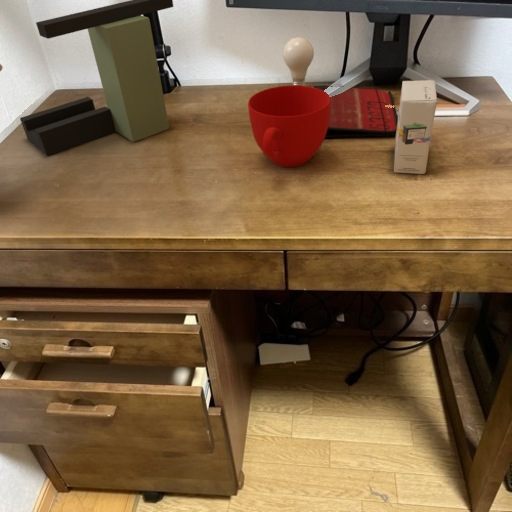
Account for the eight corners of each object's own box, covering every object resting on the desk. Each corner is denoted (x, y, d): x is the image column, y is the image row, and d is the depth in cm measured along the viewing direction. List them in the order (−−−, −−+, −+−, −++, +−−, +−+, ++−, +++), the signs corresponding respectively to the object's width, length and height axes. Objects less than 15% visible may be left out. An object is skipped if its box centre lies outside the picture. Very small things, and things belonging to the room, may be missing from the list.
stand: (113, 130, 97) (85, 20, 85) (148, 117, 101) (126, 11, 89) (133, 142, 92) (106, 28, 80) (169, 128, 96) (149, 17, 84)
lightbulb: (318, 88, 108) (319, 34, 101) (304, 98, 104) (304, 43, 97) (293, 84, 110) (292, 32, 104) (278, 94, 106) (276, 40, 100)
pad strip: (39, 35, 79) (35, 22, 77) (164, 4, 91) (162, -8, 89) (47, 38, 77) (43, 25, 76) (173, 6, 89) (171, -6, 88)
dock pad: (27, 139, 96) (19, 117, 93) (93, 117, 103) (87, 96, 100) (47, 156, 90) (38, 133, 87) (116, 131, 97) (110, 109, 94)
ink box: (393, 148, 84) (402, 78, 76) (424, 149, 83) (435, 79, 75) (392, 173, 77) (401, 99, 70) (425, 175, 76) (438, 100, 69)
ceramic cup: (230, 183, 78) (224, 123, 72) (268, 137, 90) (265, 82, 84) (309, 194, 74) (309, 132, 68) (337, 144, 86) (339, 88, 80)
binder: (309, 126, 87) (312, 84, 103) (309, 138, 88) (311, 95, 105) (402, 128, 85) (390, 85, 102) (400, 141, 87) (388, 96, 103)
